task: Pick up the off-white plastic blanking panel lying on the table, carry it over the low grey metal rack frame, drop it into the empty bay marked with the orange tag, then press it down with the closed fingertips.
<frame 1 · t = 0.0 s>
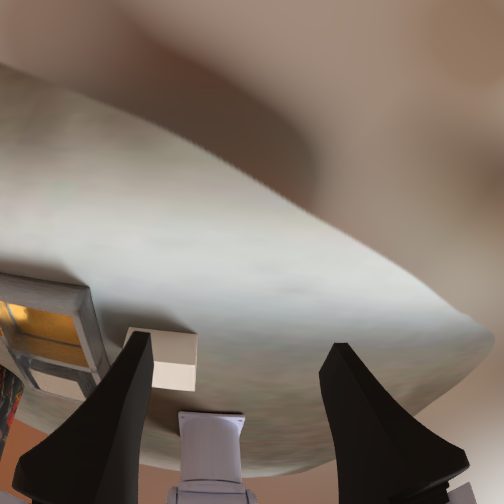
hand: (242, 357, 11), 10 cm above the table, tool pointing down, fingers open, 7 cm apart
deodorant: (8, 376, 29), on the table
rack: (57, 339, 25), on the table
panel: (164, 344, 26), on the table
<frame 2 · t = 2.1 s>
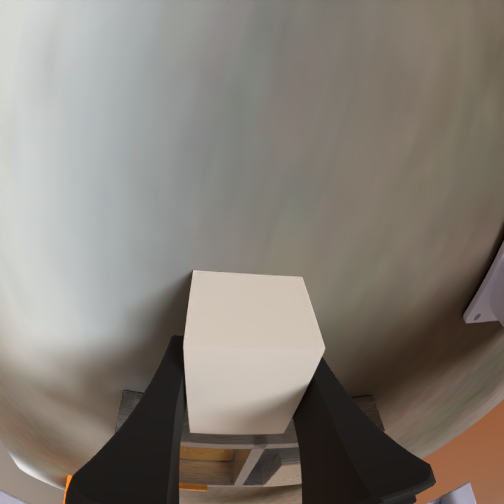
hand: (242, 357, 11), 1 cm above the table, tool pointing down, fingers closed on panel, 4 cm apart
rack: (243, 437, 19), on the table
orange juice: (101, 486, 32), on the table
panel: (240, 331, 13), on the table, touching gripper
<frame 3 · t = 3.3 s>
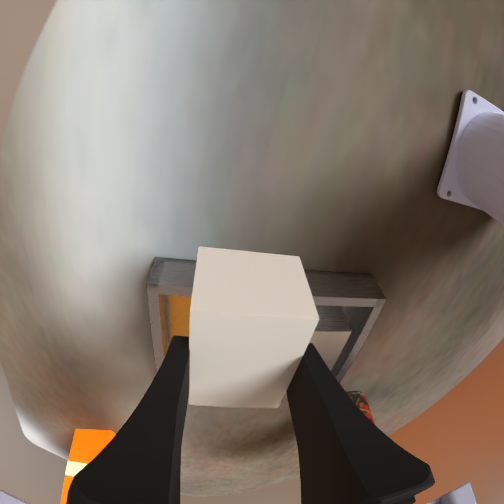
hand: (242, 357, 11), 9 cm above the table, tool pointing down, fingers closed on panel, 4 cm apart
deodorant: (341, 402, 32), on the table
rack: (258, 324, 23), on the table
orange juice: (109, 440, 37), on the table
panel: (239, 307, 14), point 6 cm above the table, touching gripper
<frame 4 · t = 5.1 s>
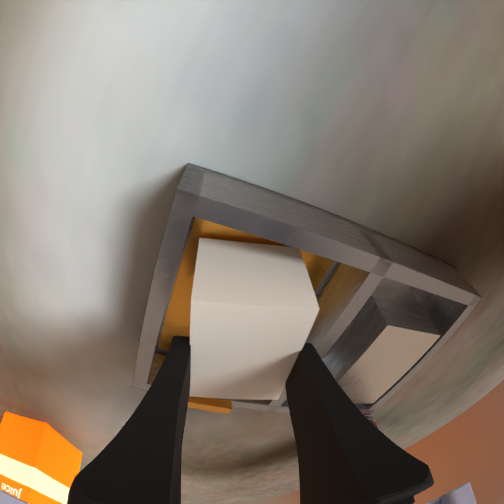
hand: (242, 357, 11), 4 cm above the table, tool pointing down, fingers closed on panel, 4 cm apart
rack: (305, 313, 15), on the table
orange juice: (43, 433, 25), on the table
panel: (240, 298, 14), point 1 cm above the table, touching gripper, rack
when the fingers open (4 cm above the table, at t = 5.1 s): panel stays where it is, resting on rack.
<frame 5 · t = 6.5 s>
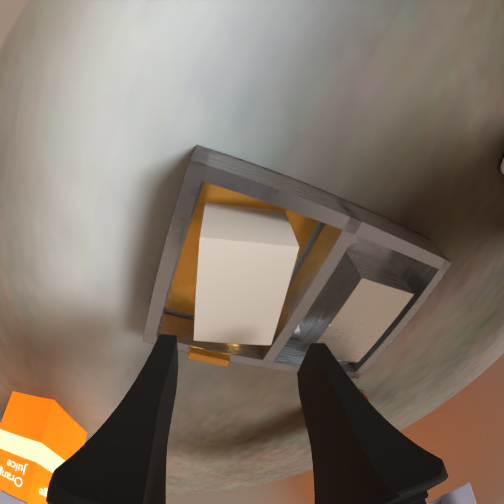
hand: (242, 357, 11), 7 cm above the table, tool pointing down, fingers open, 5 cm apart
rack: (294, 276, 18), on the table
orange juice: (49, 412, 28), on the table
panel: (237, 257, 17), resting on rack
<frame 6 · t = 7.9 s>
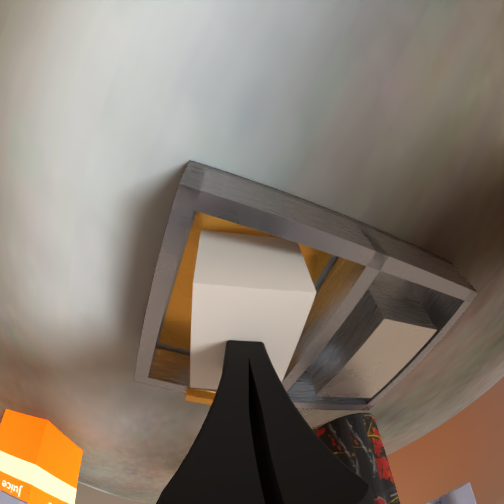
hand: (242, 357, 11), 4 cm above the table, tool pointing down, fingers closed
deodorant: (345, 425, 25), on the table
rack: (304, 308, 16), on the table
orange juice: (44, 430, 26), on the table
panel: (239, 291, 14), resting on rack
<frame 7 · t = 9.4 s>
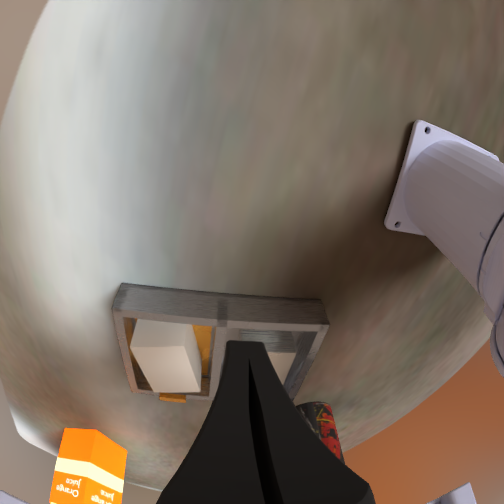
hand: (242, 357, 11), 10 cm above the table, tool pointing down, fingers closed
deodorant: (307, 411, 34), on the table
rack: (216, 341, 25), on the table
orange juice: (96, 439, 38), on the table
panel: (172, 338, 24), resting on rack
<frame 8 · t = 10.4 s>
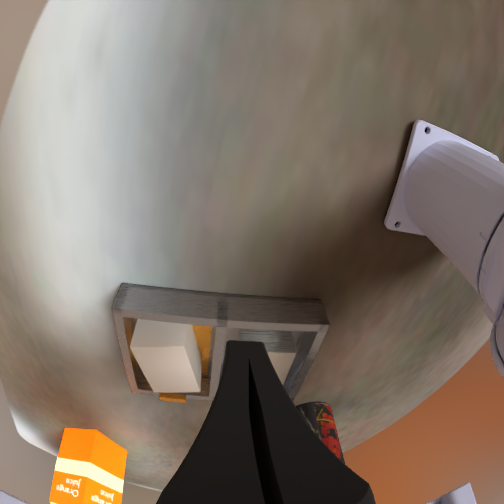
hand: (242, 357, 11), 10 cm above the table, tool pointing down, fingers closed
deodorant: (307, 411, 34), on the table
rack: (216, 341, 25), on the table
orange juice: (96, 439, 38), on the table
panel: (172, 338, 24), resting on rack
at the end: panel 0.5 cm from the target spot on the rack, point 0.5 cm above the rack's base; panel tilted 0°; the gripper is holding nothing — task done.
